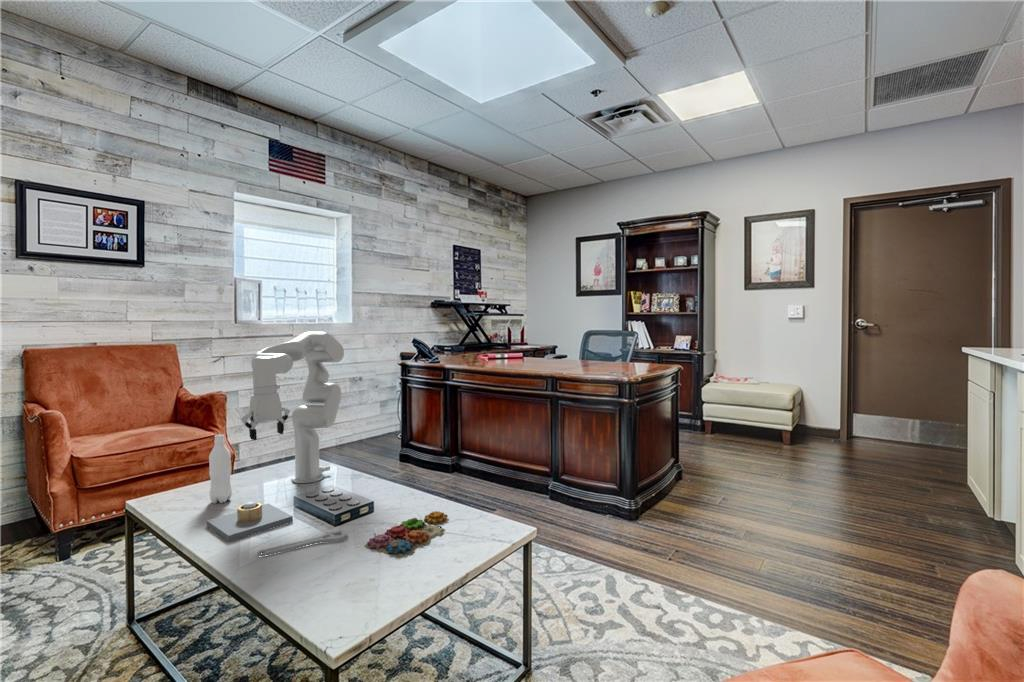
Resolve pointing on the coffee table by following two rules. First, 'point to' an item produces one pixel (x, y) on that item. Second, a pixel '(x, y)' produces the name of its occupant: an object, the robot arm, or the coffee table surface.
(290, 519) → the stand
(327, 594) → the coffee table surface
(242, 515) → the bronze ring
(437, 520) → the gear puzzle
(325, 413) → the robot arm
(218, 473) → the water bottle
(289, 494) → the coffee table surface
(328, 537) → the adjustable wrench
